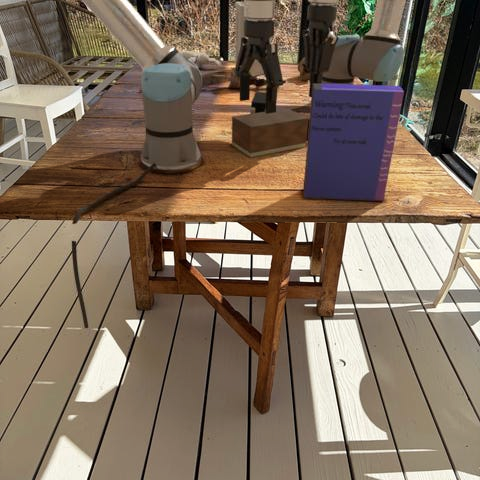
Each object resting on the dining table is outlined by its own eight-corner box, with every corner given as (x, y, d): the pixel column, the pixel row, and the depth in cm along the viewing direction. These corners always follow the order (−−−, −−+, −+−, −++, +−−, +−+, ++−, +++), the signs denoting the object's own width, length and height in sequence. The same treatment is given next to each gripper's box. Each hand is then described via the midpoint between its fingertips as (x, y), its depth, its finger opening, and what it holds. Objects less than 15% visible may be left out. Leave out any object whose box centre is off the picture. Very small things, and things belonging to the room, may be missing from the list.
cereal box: (379, 191, 109) (398, 84, 97) (383, 201, 105) (404, 90, 93) (303, 188, 110) (312, 82, 98) (304, 197, 106) (314, 88, 94)
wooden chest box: (285, 135, 143) (287, 108, 139) (305, 146, 135) (308, 118, 131) (231, 144, 135) (231, 116, 131) (250, 157, 127) (251, 127, 123)
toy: (176, 74, 211) (175, 58, 207) (152, 64, 228) (150, 49, 225) (222, 68, 223) (222, 53, 219) (196, 59, 240) (196, 44, 237)
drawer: (309, 129, 146) (310, 108, 142) (328, 138, 139) (330, 116, 135) (243, 140, 136) (244, 118, 133) (260, 151, 129) (261, 128, 126)
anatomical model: (307, 83, 216) (306, 83, 202) (293, 69, 215) (291, 69, 201) (327, 61, 212) (327, 60, 198) (313, 47, 211) (312, 45, 197)
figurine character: (269, 131, 150) (273, 112, 162) (270, 107, 146) (274, 90, 157) (248, 129, 151) (253, 111, 163) (248, 106, 146) (254, 89, 158)
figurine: (210, 87, 179) (288, 95, 182) (212, 65, 176) (291, 73, 180) (208, 84, 201) (278, 91, 205) (210, 64, 198) (280, 71, 202)
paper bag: (273, 76, 210) (276, 6, 196) (239, 77, 209) (240, 6, 194) (266, 67, 226) (268, 2, 212) (235, 67, 225) (235, 1, 210)
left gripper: (301, 24, 109) (295, 116, 119) (247, 13, 127) (246, 94, 138) (273, 26, 105) (269, 120, 116) (222, 14, 124) (223, 97, 135)
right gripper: (350, 5, 120) (339, 100, 132) (319, 1, 129) (311, 90, 142) (326, 6, 116) (317, 103, 129) (296, 2, 126) (290, 92, 138)
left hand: (257, 106), depth 127 cm, fingers open, 13 cm apart
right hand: (314, 96), depth 135 cm, fingers closed
